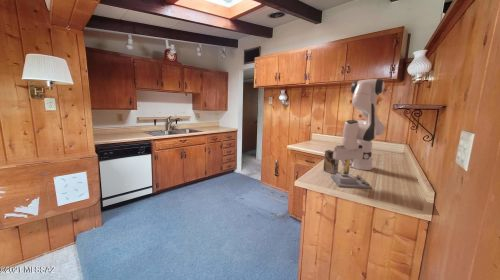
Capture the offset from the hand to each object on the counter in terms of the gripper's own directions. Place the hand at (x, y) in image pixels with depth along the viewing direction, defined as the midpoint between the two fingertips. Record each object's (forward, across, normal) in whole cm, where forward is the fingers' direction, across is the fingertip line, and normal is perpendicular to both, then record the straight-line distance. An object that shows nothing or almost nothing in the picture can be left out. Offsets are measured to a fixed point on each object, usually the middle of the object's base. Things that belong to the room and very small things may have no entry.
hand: (346, 165), depth 138 cm
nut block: (+12, +3, -1) cm, 12 cm away
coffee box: (+12, +3, +21) cm, 24 cm away
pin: (+6, 0, 0) cm, 6 cm away
